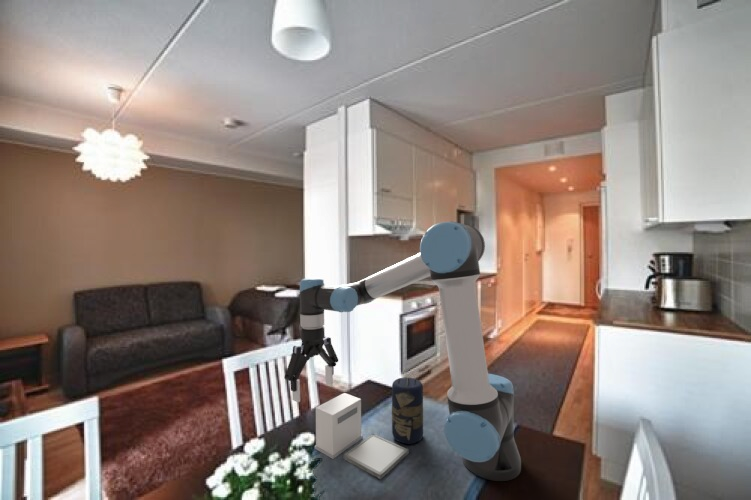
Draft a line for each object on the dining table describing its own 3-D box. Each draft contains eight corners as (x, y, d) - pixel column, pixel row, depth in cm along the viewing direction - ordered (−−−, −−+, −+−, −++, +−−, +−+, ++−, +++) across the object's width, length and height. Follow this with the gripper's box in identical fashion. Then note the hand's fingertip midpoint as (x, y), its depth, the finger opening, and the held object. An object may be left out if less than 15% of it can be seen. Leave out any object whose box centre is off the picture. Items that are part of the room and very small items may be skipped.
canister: (387, 442, 98) (387, 382, 97) (397, 426, 106) (397, 371, 106) (419, 449, 94) (418, 387, 94) (426, 432, 103) (426, 375, 103)
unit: (362, 437, 100) (362, 398, 100) (333, 459, 90) (332, 416, 90) (344, 429, 105) (344, 392, 105) (314, 448, 95) (314, 407, 95)
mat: (408, 453, 92) (408, 449, 92) (380, 479, 82) (380, 475, 82) (372, 436, 100) (372, 433, 100) (343, 458, 90) (343, 454, 90)
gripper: (332, 317, 116) (333, 377, 117) (271, 333, 97) (272, 404, 97) (347, 320, 112) (348, 382, 112) (287, 337, 92) (288, 412, 92)
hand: (313, 392), depth 104 cm, fingers open, 13 cm apart
